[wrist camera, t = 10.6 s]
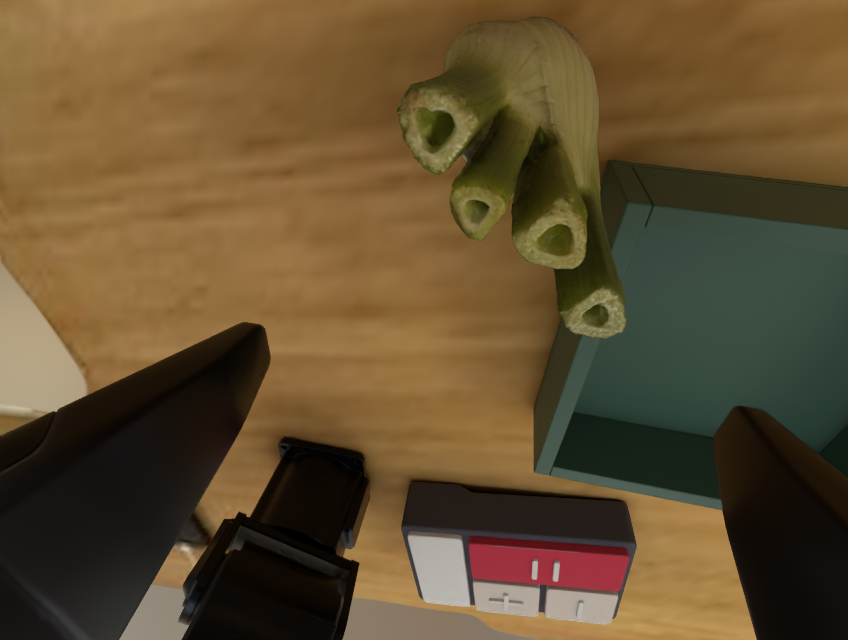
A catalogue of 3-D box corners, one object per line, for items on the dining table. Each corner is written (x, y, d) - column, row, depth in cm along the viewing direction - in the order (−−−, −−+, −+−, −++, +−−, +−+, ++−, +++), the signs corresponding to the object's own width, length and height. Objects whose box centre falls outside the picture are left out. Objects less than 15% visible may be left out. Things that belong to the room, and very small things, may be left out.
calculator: (617, 632, 33) (418, 610, 36) (607, 572, 36) (425, 556, 39) (641, 556, 27) (397, 537, 30) (626, 492, 30) (408, 480, 33)
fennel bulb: (598, 157, 18) (670, 352, 8) (477, 186, 19) (421, 376, 10) (580, -18, 15) (662, -30, 5) (439, 34, 16) (305, 97, 7)
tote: (533, 409, 26) (533, 472, 23) (608, 159, 18) (627, 202, 14) (819, 461, 25) (867, 539, 21) (1064, 212, 16) (1213, 274, 12)
